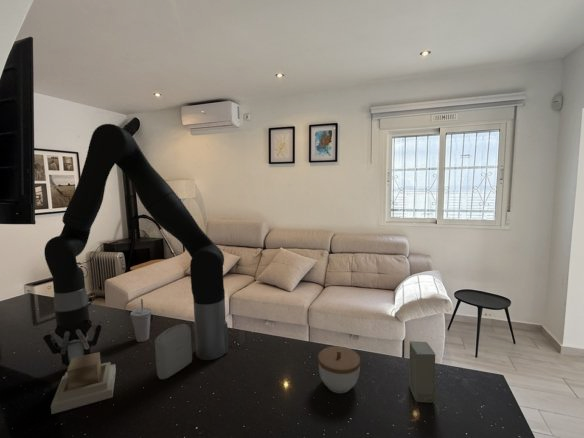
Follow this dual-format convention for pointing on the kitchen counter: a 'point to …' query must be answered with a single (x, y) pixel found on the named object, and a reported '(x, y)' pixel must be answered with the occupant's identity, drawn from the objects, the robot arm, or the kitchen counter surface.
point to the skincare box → (422, 371)
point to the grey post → (75, 349)
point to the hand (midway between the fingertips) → (77, 362)
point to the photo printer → (173, 350)
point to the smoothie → (141, 322)
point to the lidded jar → (339, 368)
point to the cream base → (84, 391)
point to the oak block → (84, 371)
